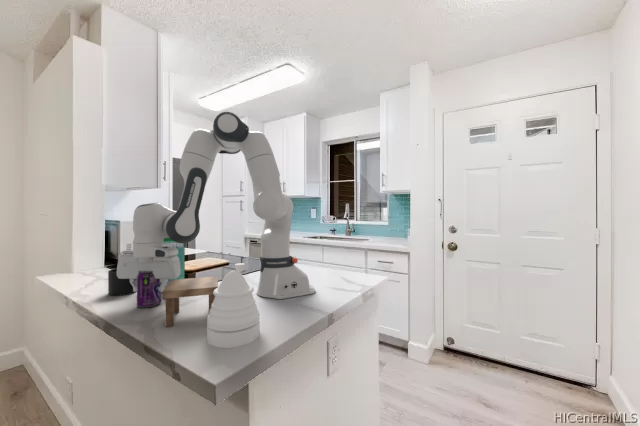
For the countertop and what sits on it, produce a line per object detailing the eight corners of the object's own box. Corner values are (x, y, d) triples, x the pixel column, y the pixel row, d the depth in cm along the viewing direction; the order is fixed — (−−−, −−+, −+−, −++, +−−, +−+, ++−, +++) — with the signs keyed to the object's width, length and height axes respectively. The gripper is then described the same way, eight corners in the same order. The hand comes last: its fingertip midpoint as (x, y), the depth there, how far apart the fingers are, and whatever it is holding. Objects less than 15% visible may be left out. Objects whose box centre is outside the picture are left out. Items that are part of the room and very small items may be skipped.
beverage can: (150, 309, 91) (150, 272, 91) (131, 308, 93) (131, 271, 92) (166, 302, 98) (165, 268, 98) (148, 301, 100) (148, 267, 99)
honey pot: (237, 321, 81) (237, 259, 81) (270, 332, 74) (269, 264, 74) (196, 338, 70) (195, 266, 70) (229, 353, 63) (228, 272, 63)
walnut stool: (218, 306, 94) (217, 276, 94) (217, 321, 81) (217, 286, 81) (171, 311, 90) (171, 279, 90) (162, 328, 76) (162, 291, 76)
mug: (128, 297, 104) (128, 272, 104) (101, 295, 107) (101, 271, 107) (148, 290, 114) (148, 267, 114) (123, 288, 116) (123, 266, 116)
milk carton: (153, 289, 115) (152, 228, 115) (176, 284, 122) (176, 227, 121) (160, 293, 109) (160, 229, 109) (185, 288, 116) (184, 227, 115)
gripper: (111, 252, 92) (111, 294, 93) (172, 252, 92) (172, 294, 92) (125, 249, 99) (125, 288, 99) (182, 249, 98) (182, 289, 98)
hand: (148, 291), depth 95 cm, fingers closed on beverage can, 7 cm apart
